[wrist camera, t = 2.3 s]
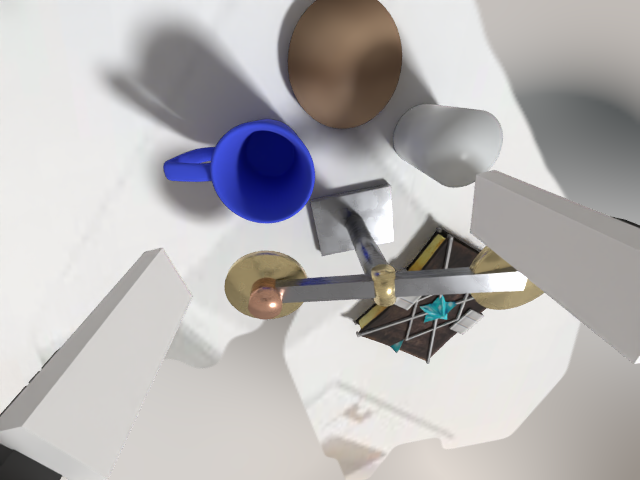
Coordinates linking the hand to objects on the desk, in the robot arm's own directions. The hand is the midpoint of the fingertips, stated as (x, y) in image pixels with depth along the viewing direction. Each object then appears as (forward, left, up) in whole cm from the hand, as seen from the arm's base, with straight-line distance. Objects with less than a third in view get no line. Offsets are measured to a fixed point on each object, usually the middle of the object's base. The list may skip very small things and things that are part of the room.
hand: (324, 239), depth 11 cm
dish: (-6, +6, -21) cm, 23 cm away
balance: (+11, +5, -21) cm, 24 cm away
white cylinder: (+2, +14, -21) cm, 25 cm away
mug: (0, -5, -21) cm, 22 cm away
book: (+28, +16, -22) cm, 39 cm away
